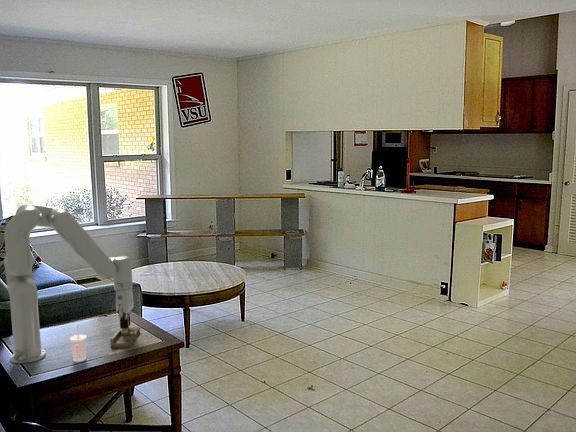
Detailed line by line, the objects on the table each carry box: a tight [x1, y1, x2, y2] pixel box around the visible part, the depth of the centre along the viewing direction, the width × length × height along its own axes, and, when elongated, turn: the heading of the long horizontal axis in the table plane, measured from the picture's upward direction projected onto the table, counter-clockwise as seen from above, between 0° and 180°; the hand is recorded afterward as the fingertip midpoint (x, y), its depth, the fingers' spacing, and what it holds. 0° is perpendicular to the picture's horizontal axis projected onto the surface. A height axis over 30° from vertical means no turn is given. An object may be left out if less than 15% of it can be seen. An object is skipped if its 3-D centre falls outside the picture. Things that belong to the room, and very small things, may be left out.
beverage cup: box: [69, 324, 88, 363], centre depth 206 cm, size 6×6×14 cm
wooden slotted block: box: [109, 327, 141, 349], centre depth 227 cm, size 18×7×4 cm, turn 0°
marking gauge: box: [121, 314, 135, 335], centre depth 228 cm, size 4×5×8 cm
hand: (125, 326), depth 229 cm, fingers closed on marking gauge, 2 cm apart
